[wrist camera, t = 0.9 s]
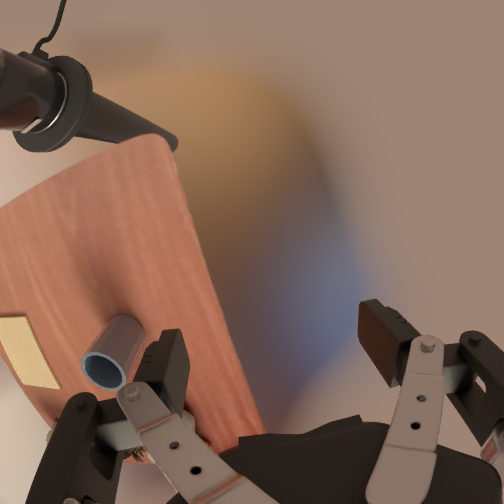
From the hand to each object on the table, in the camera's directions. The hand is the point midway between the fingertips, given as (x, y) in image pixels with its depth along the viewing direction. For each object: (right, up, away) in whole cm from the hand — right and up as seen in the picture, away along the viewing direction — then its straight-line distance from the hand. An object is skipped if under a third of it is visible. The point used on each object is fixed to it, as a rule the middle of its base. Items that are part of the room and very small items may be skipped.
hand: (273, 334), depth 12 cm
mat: (-45, -16, +28) cm, 55 cm away
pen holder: (-20, -8, +27) cm, 35 cm away
